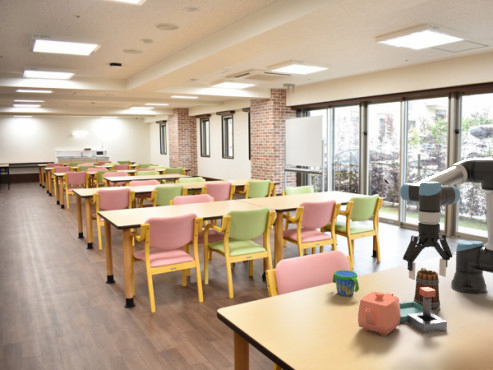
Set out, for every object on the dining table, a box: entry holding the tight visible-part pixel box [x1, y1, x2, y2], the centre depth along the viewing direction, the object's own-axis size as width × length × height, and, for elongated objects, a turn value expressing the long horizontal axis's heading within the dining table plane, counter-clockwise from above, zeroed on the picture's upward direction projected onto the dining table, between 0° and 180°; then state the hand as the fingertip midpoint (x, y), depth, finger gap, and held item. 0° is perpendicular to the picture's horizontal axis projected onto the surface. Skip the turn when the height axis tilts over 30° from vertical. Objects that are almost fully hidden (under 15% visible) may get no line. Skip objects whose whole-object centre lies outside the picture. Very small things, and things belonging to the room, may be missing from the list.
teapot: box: [357, 291, 400, 337], centre depth 157 cm, size 22×13×14 cm, turn 138°
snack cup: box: [332, 269, 360, 297], centre depth 195 cm, size 16×10×10 cm
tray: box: [399, 300, 436, 324], centre depth 171 cm, size 16×13×2 cm
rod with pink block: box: [419, 287, 435, 321], centre depth 159 cm, size 4×4×15 cm
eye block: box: [406, 312, 448, 335], centre depth 159 cm, size 10×10×4 cm
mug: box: [413, 267, 441, 311], centre depth 182 cm, size 16×11×15 cm
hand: (427, 277), depth 158 cm, fingers open, 13 cm apart
